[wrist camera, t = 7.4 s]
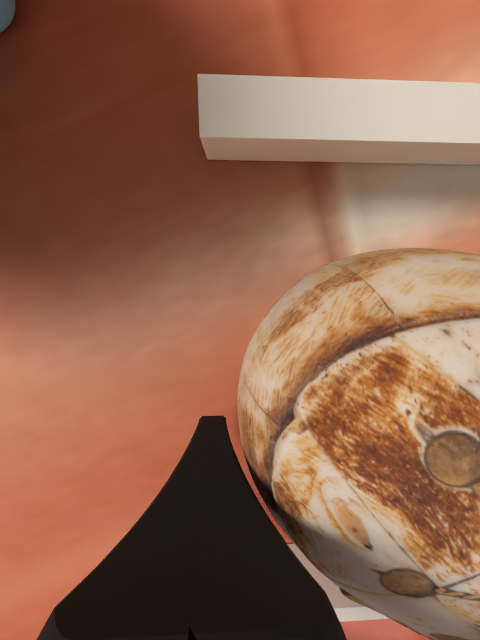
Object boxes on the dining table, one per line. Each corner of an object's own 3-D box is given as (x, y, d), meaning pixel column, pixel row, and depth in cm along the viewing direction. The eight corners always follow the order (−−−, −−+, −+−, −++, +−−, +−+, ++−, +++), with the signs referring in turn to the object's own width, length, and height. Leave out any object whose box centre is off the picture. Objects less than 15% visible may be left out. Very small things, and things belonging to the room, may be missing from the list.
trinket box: (485, 496, 16) (703, 735, 9) (222, 491, 15) (219, 759, 8) (613, 260, 11) (1321, 345, 4) (246, 227, 10) (296, 261, 3)
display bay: (485, 547, 18) (534, 610, 15) (218, 559, 17) (216, 628, 14) (690, 129, 10) (875, 95, 7) (206, 117, 9) (197, 74, 6)
